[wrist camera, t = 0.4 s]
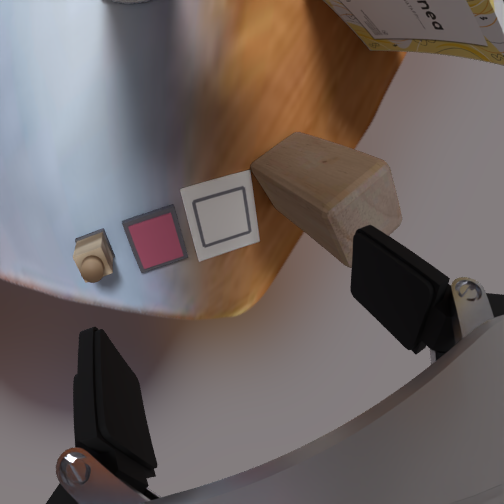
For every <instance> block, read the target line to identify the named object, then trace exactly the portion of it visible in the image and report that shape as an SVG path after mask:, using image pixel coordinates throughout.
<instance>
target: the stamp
mask: <svg viewBox="0 0 504 504" xmlns="http://www.w3.org/2000/svg"><path fill="white" fill-rule="evenodd" d="M75 242H76V247H75V251H74V255H73V259H74V261H75V263H76V265H77V267H78V269H79V271H80V273H81V276H82V277H83V279H84V280H85V282H90V283H95V282H98V281H100V280H101V279H102V277H103V276H106V275H109V274H112V273H113V258H114V253H113V250H112V248H111V245H110V243H109V240H108V238H107V236H106V233H105V231H104V228H103V229H100V230H97V231H95V232H92V233H89V234H87V235H84V236H81V237H79V238H76V240H75Z"/></svg>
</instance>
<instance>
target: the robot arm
mask: <svg viewBox="0 0 504 504" xmlns="http://www.w3.org/2000/svg"><path fill="white" fill-rule="evenodd" d="M111 1H114V2H118V3H125V4H136V3H142V2H147V1H150V0H111ZM449 279H450V278H448V277H447V276H446V275H444V274H443V273H441V272H440V271H439V270H438V269H436V268H435V267H433V266H432V265H431V264H429V263H427V262H426V261H425V260H423V259H422V258H420V257H419V256H418V255H416V254H415V253H413V252H412V251H410V250H409V249H407V248H406V247H404V246H403V245H401V244H400V243H398V242H397V241H395V240H394V239H392V238H391V237H389V236H388V235H386V234H385V233H383V232H382V231H380V230H379V229H377V228H375V227H374V226H372V225H367V226H365V227H362V228H360V229H358V230H356V232H355V235H354V236H353V252H352V274H351V293H352V295H353V297H354V298H355V299H356V300H357V301H358V302H359V303H360V304H362V306H364V307H365V308H366V309H367V310H368V311H369V312H370V313H371V314H372V315H373V316H374V317H375V318H376V319H377V320H378V321H379V322H380V323H381V324H382V325H383V326H384V327H385V328H386V329H387V330H388V331H389V332H390V333H391V334H392V335H393V336H394V337H395V338H396V339H397V340H398V341H399V342H400V343H401V344H402V345H403V346H404V347H405V348H407V349H408V350H412V351H413V352H414V353H415V354H417V353H419V352H420V351H421V350H423V349H424V348H425V347H426V345H427V346H428V347H429V348H430V355H431V366H429V367H428V368H427V369H425V370H424V371H423V372H422V373H420V374H419V375H418V376H416V377H415V378H414V379H412V380H411V381H410V382H408V383H407V384H406V385H404V386H403V387H401V388H400V389H399V390H397V391H396V392H394V393H393V394H391V395H390V396H388V397H387V398H386V399H384V400H383V401H381V402H380V403H378V404H377V405H375V406H373V407H372V408H370V409H369V410H367V411H365V412H364V413H362V414H361V415H359V416H357V417H356V418H354V419H353V420H351V421H349V422H347V423H346V424H344V425H342V426H340V427H338V428H337V429H335V430H333V431H331V432H329V433H328V434H326V435H324V436H322V437H320V438H318V439H316V440H314V441H312V442H310V443H308V444H307V445H305V446H302V447H301V448H298V449H296V450H294V451H292V452H290V453H288V454H285V455H283V456H281V457H279V458H277V459H274V460H272V461H269V462H267V463H264V464H262V465H260V466H257V467H255V468H252V469H249V470H247V471H244V472H241V473H239V474H236V475H233V476H230V477H227V478H224V479H222V480H219V481H216V482H213V483H210V484H207V485H203V486H200V487H197V488H194V489H190V490H187V491H183V492H180V493H175V494H172V495H169V496H165V497H160V496H159V495H157V494H156V493H154V492H153V491H152V490H150V489H149V488H147V487H148V483H147V479H146V478H150V477H154V476H156V475H155V471H154V468H157V461H156V458H155V454H154V450H153V446H152V442H151V438H150V433H149V429H148V425H147V420H146V416H145V411H144V406H143V400H142V395H141V390H140V385H139V381H138V379H137V377H136V375H135V374H134V372H133V371H132V370H131V368H130V367H129V366H128V365H127V363H126V362H125V360H124V359H123V358H122V356H121V355H120V353H119V352H118V351H117V349H116V348H115V346H114V345H113V343H112V342H111V340H110V339H109V337H108V336H107V334H106V333H105V332H104V330H103V329H100V330H98V328H96V327H92V328H89V329H87V330H84V331H81V332H80V334H79V349H78V374H76V375H75V377H74V384H73V385H74V386H73V391H74V392H73V403H74V404H73V405H74V433H75V448H70V449H67V450H65V451H64V452H63V453H62V454H61V455H60V457H59V458H58V460H57V464H56V474H57V478H58V480H59V482H60V484H59V485H58V487H57V488H56V490H55V491H54V492H53V494H52V495H51V497H50V498H49V500H48V501H47V503H46V504H504V295H500V294H489V293H486V292H485V290H484V288H483V286H482V285H481V284H480V283H479V282H477V281H476V280H474V279H471V278H467V277H461V278H457V279H455V280H454V281H453V283H452V285H451V286H450V285H449V284H448V282H449Z"/></svg>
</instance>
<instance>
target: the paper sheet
mask: <svg viewBox="0 0 504 504" xmlns="http://www.w3.org/2000/svg"><path fill="white" fill-rule="evenodd" d="M180 192H181V196H182V200H183V204H184V208H185V212H186V216H187V220H188V224H189V227H190V231H191V235H192V239H193V242H194V246H195V250H196V253H197V257H198V261H199V262H200V261H203V260H206V259H209V258H212V257H215V256H217V255H220V254H223V253H226V252H229V251H232V250H235V249H238V248H241V247H244V246H247V245H250V244H254V243H257V242H260V238H259V231H258V223H257V216H256V208H255V201H254V194H253V186H252V179H251V172H250V170H246V171H243V172H239V173H235V174H231V175H227V176H224V177H220V178H216V179H213V180H209V181H205V182H202V183H198V184H195V185H192V186H188V187H185V188H181V189H180Z"/></svg>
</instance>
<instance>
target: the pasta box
mask: <svg viewBox="0 0 504 504" xmlns="http://www.w3.org/2000/svg"><path fill="white" fill-rule="evenodd" d="M323 1H324V2H325V3H326V4H327V5H328V6H329V7H330V8H331V9H332V10H333V11H334V12H335V13H336V14H337V15H338V16H339V17H340V18H341V19H342V20H343V21H344V22H345V23H346V24H347V25H348V26H349V27H350V28H351V29H352V30H353V31H354V32H355V34H356V35H357V36H358V37H359V38H360V39H361V40H362V41H363V43H364V44H365V45H366V46H367V47H368V48H369V50H370V51H404V52H419V53H431V54H440V55H448V56H456V57H463V58H469V59H474V60H480V61H485V62H490V63H494V64H499V65H503V66H504V0H323Z"/></svg>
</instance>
